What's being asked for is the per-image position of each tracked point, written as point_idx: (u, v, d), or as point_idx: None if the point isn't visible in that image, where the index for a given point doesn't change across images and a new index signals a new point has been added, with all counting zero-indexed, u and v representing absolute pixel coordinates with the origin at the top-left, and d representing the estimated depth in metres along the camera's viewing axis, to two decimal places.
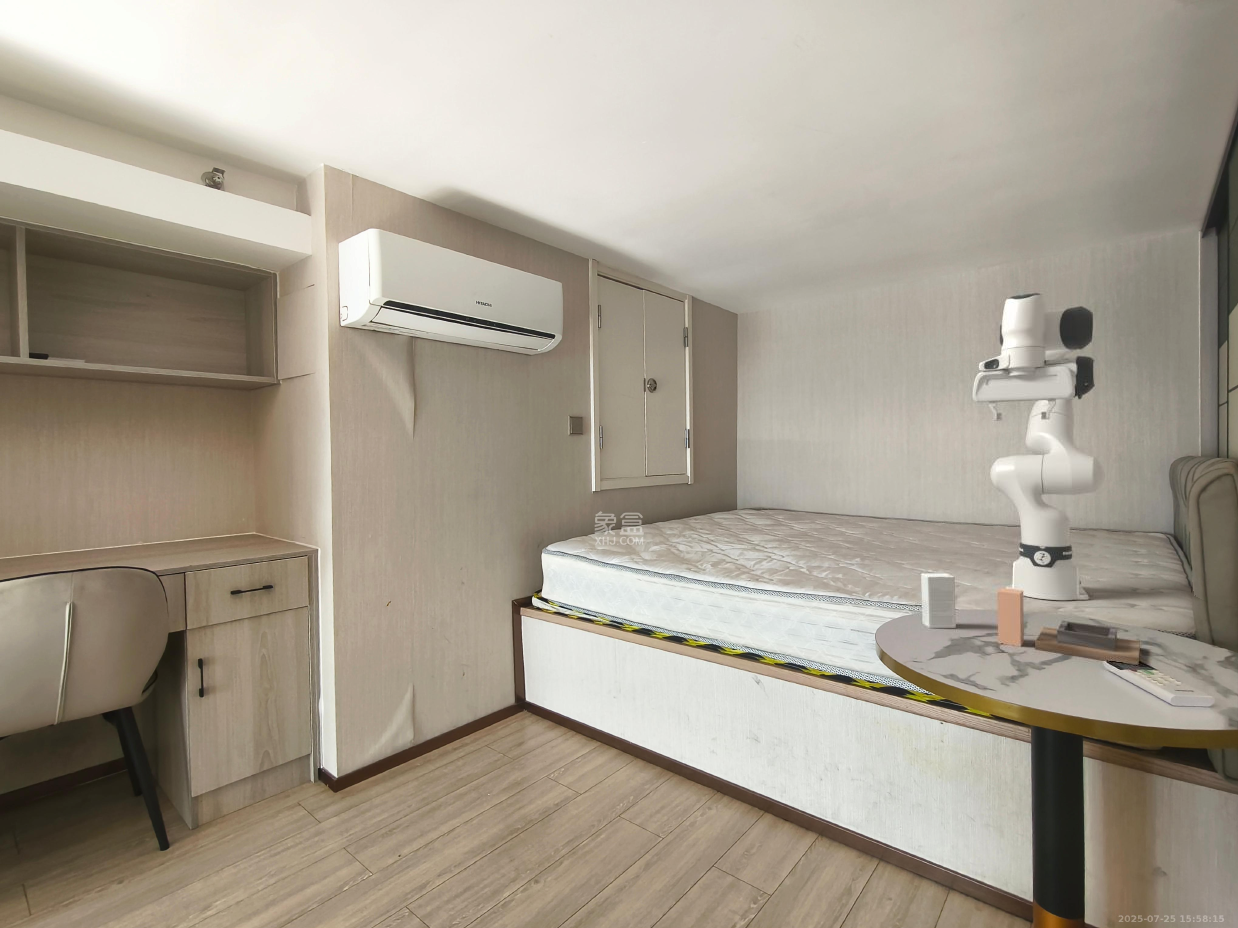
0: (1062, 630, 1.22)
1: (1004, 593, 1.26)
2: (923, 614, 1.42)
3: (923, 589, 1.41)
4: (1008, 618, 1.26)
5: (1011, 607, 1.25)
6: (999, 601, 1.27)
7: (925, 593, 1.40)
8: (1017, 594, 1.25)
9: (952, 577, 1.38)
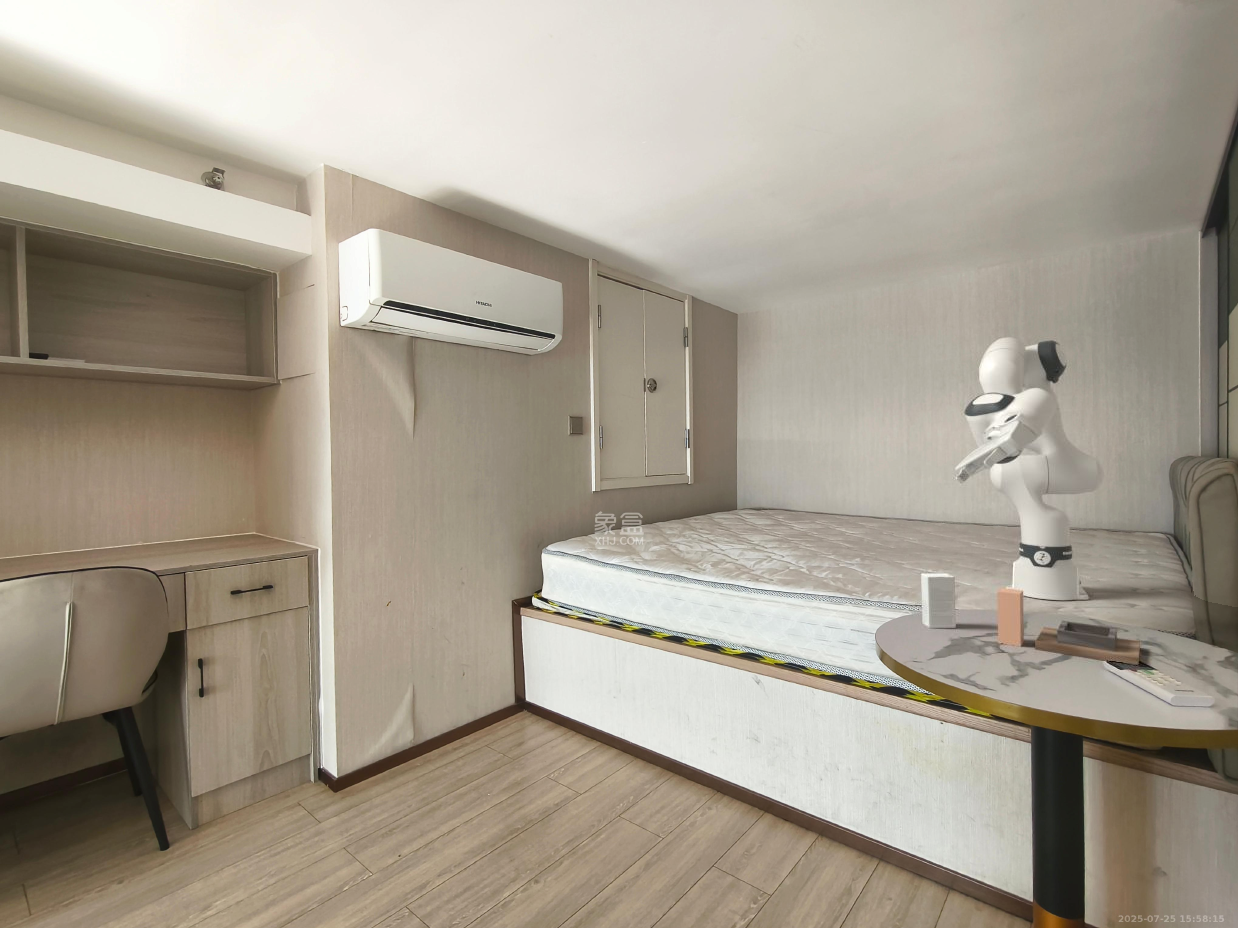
0: (1062, 630, 1.22)
1: (1004, 593, 1.26)
2: (923, 614, 1.42)
3: (924, 589, 1.41)
4: (1008, 618, 1.26)
5: (1011, 607, 1.25)
6: (999, 601, 1.27)
7: (925, 593, 1.40)
8: (1017, 594, 1.25)
9: (952, 577, 1.38)
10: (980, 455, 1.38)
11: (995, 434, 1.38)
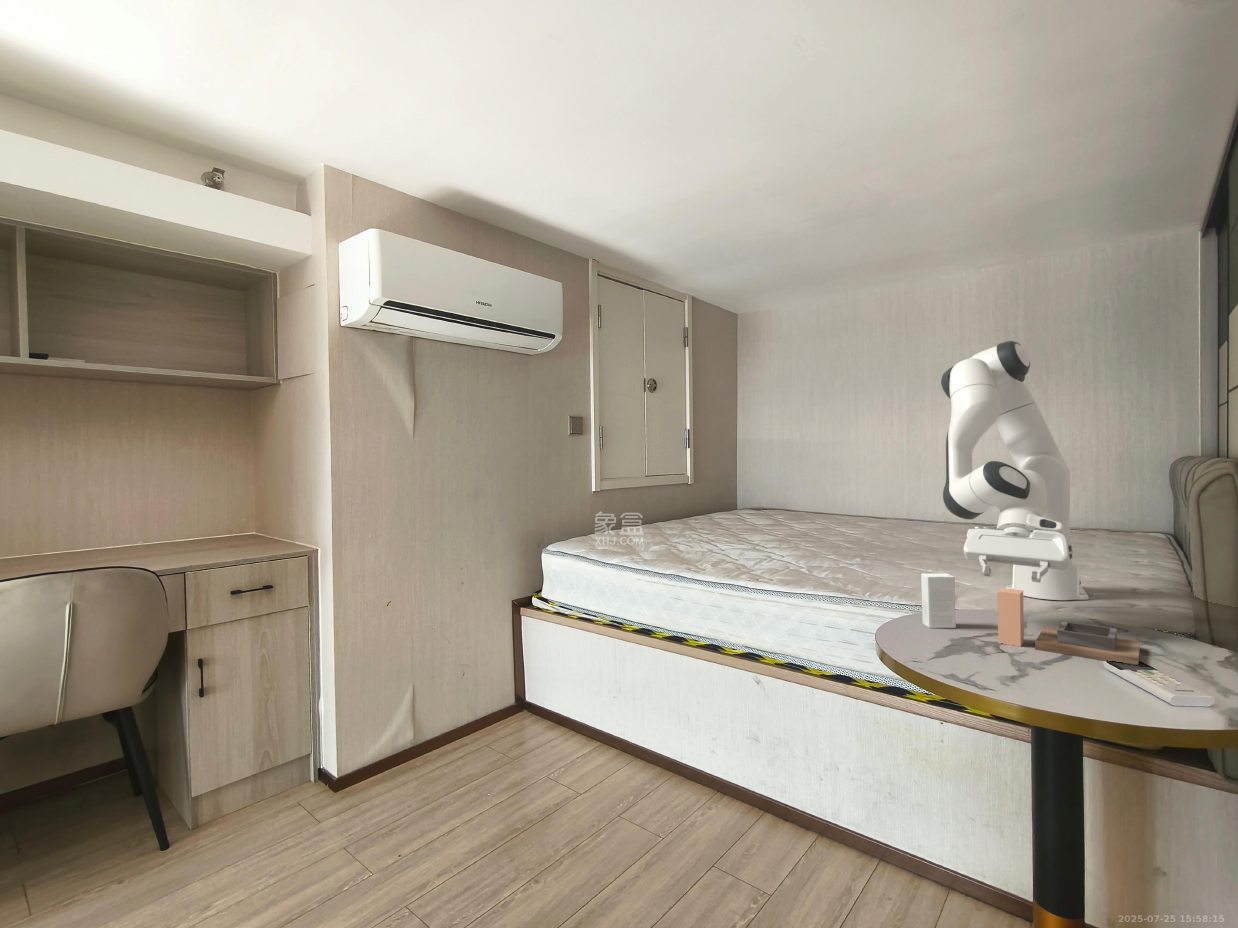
0: (1062, 630, 1.22)
1: (1004, 593, 1.26)
2: (923, 614, 1.42)
3: (924, 589, 1.41)
4: (1008, 618, 1.26)
5: (1011, 607, 1.25)
6: (999, 601, 1.27)
7: (925, 593, 1.40)
8: (1017, 594, 1.25)
9: (952, 577, 1.38)
10: (1015, 556, 1.35)
11: (1025, 533, 1.36)
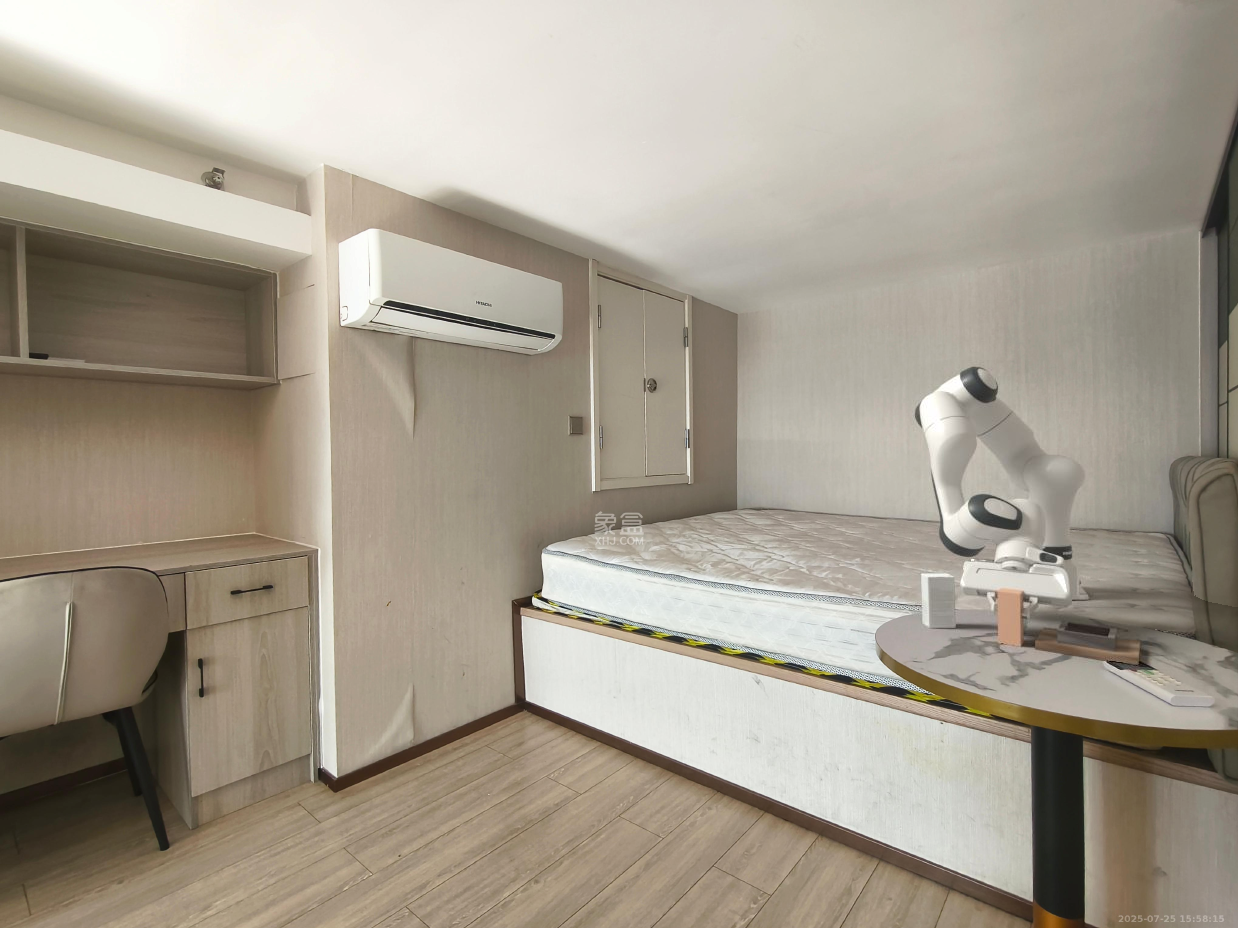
0: (1062, 630, 1.22)
1: (1004, 593, 1.26)
2: (923, 614, 1.42)
3: (924, 589, 1.41)
4: (1008, 618, 1.26)
5: (1011, 607, 1.25)
6: (999, 601, 1.27)
7: (925, 593, 1.40)
8: (1017, 594, 1.25)
9: (952, 577, 1.38)
10: None
11: (1025, 567, 1.30)
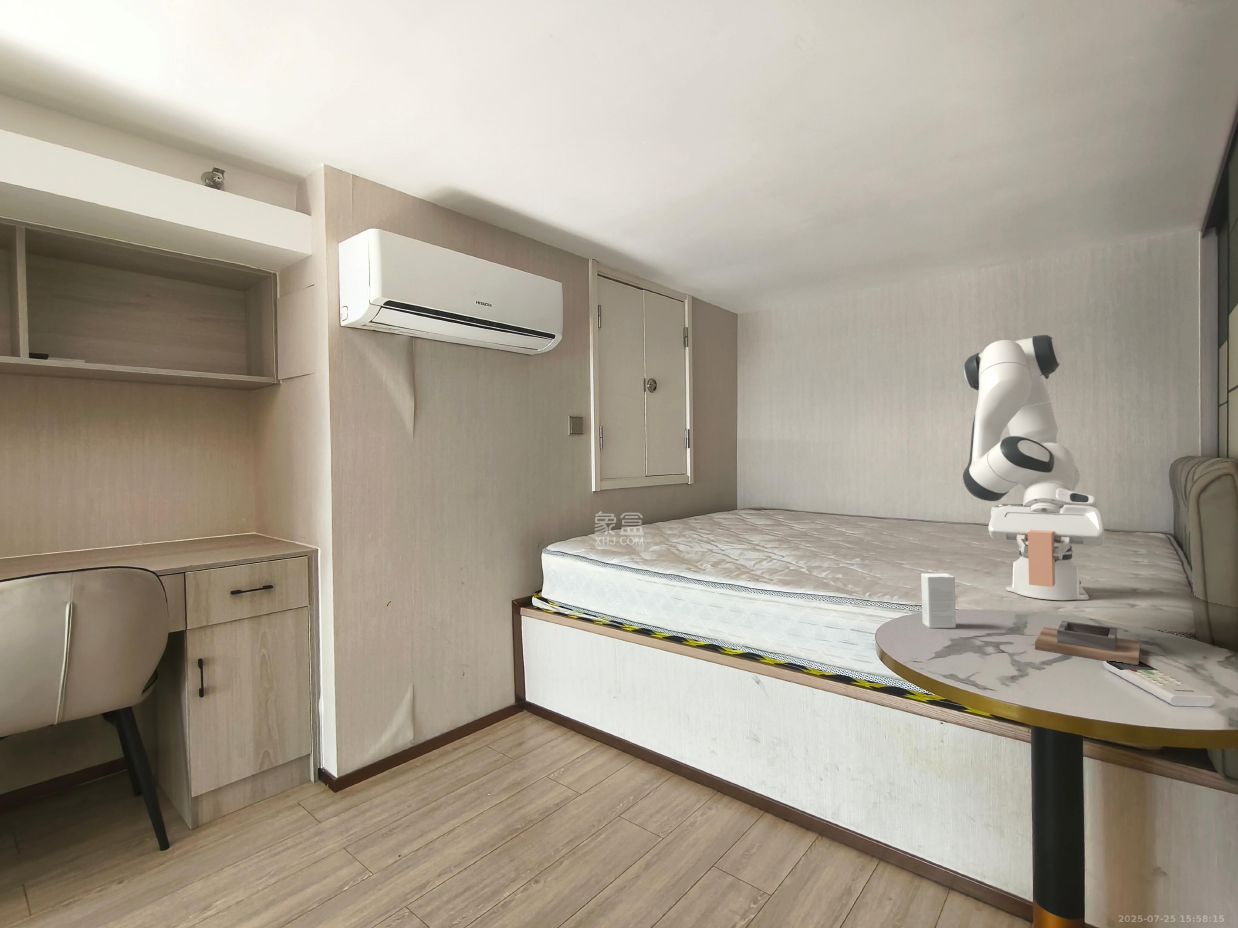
0: (1062, 630, 1.22)
1: (1034, 533, 1.24)
2: (923, 614, 1.42)
3: (924, 589, 1.41)
4: (1039, 558, 1.24)
5: (1042, 547, 1.23)
6: (1029, 542, 1.25)
7: (925, 593, 1.40)
8: (1048, 533, 1.23)
9: (952, 577, 1.38)
10: None
11: (1055, 508, 1.27)
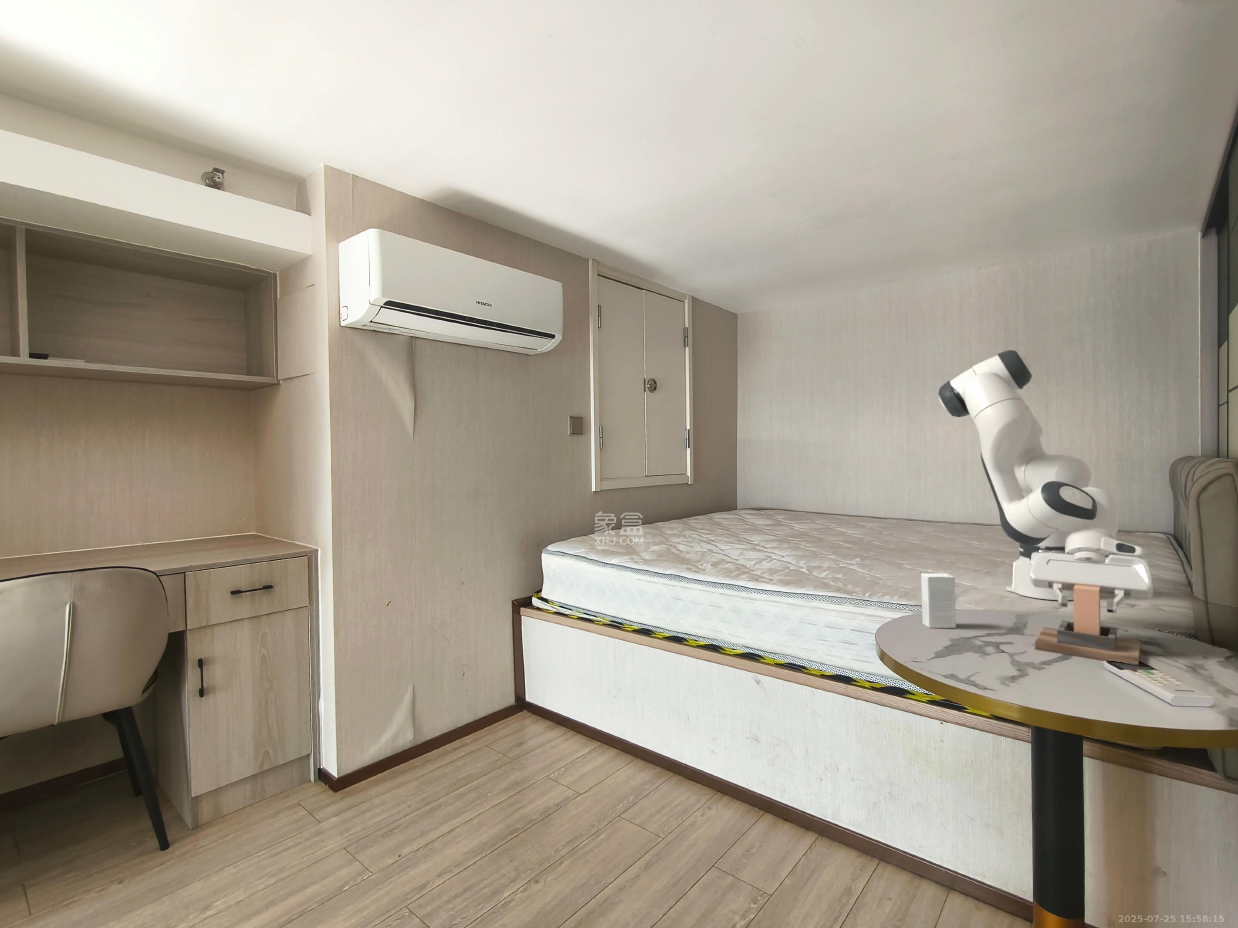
0: (1062, 630, 1.22)
1: (1081, 589, 1.21)
2: (923, 614, 1.42)
3: (924, 589, 1.41)
4: (1085, 615, 1.21)
5: (1089, 604, 1.20)
6: (1075, 598, 1.22)
7: (925, 593, 1.40)
8: (1095, 590, 1.20)
9: (952, 577, 1.38)
10: (1091, 584, 1.23)
11: (1100, 558, 1.25)
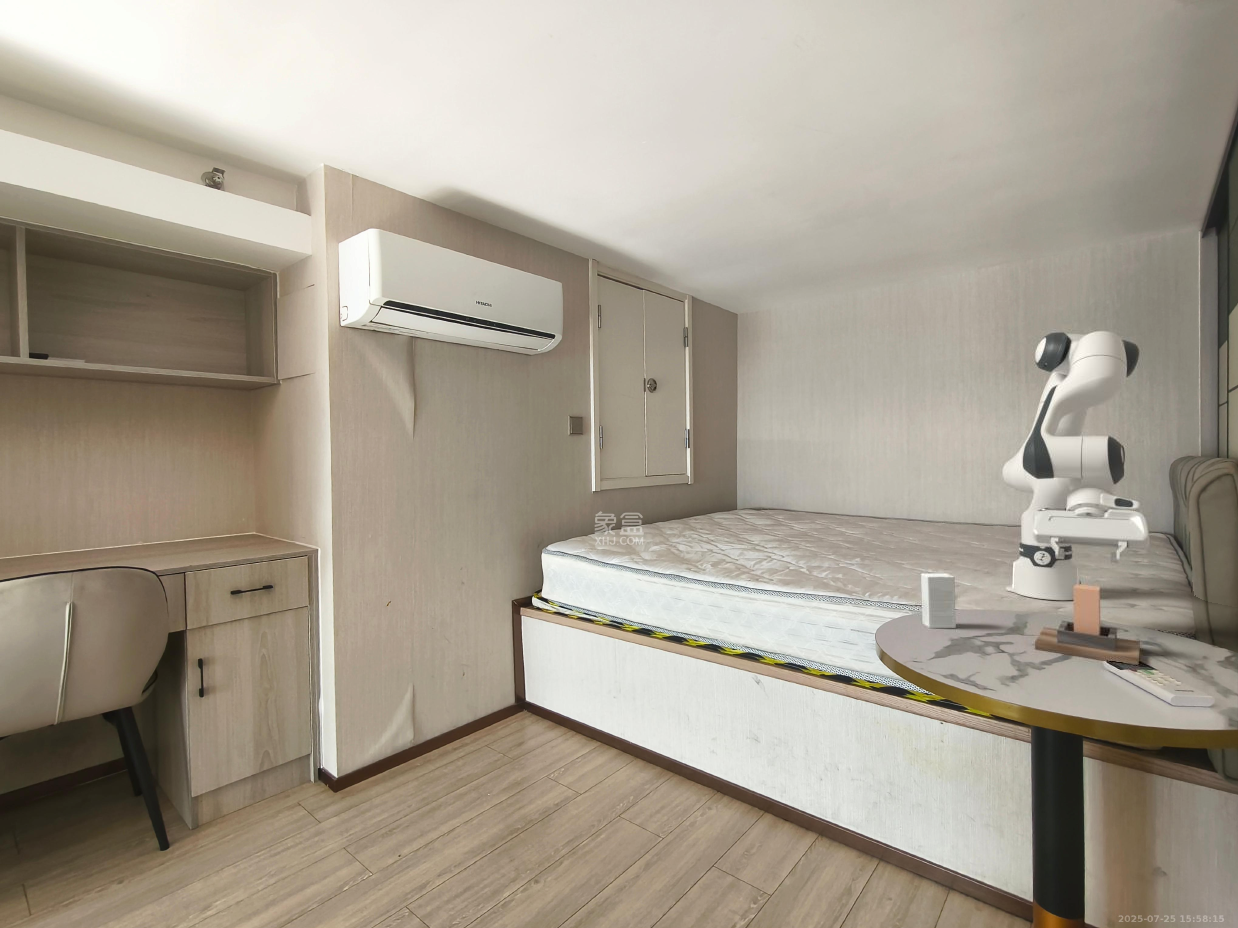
0: (1062, 630, 1.22)
1: (1081, 589, 1.21)
2: (923, 614, 1.42)
3: (924, 589, 1.41)
4: (1085, 615, 1.21)
5: (1089, 604, 1.20)
6: (1075, 598, 1.22)
7: (925, 593, 1.40)
8: (1095, 590, 1.20)
9: (952, 577, 1.38)
10: (1090, 537, 1.30)
11: (1099, 513, 1.31)
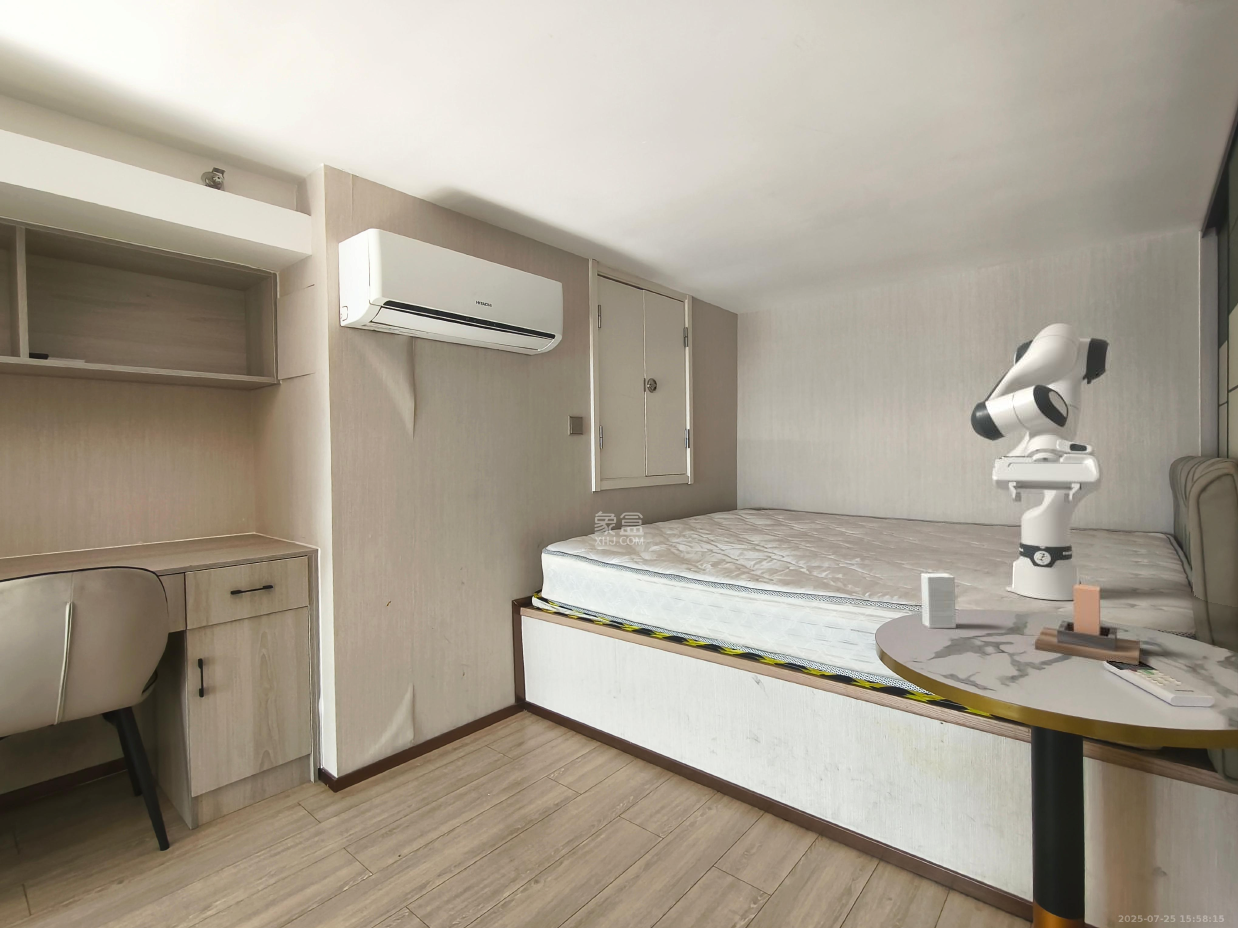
0: (1062, 630, 1.22)
1: (1081, 589, 1.21)
2: (923, 614, 1.42)
3: (923, 589, 1.41)
4: (1085, 615, 1.21)
5: (1089, 604, 1.20)
6: (1075, 598, 1.22)
7: (925, 593, 1.40)
8: (1095, 590, 1.20)
9: (952, 577, 1.38)
10: (1046, 481, 1.34)
11: (1055, 458, 1.36)
